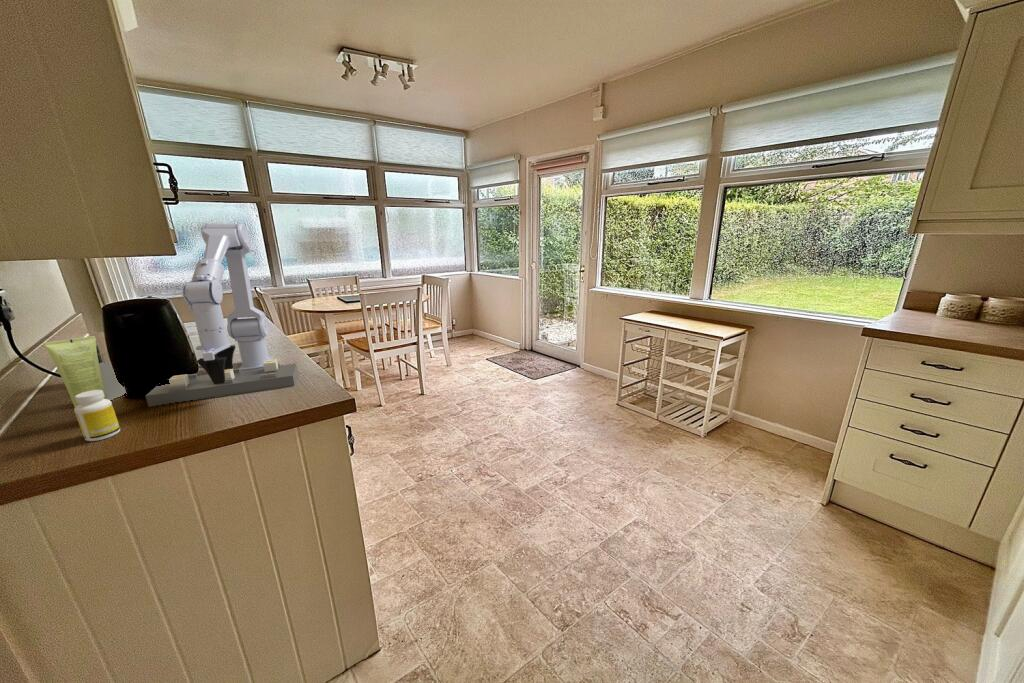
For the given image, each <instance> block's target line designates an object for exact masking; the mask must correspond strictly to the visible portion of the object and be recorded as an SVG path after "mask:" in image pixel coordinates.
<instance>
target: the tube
mask: <svg viewBox="0 0 1024 683" xmlns="http://www.w3.org/2000/svg"><path fill="white" fill-rule="evenodd" d="M43 345H44V348H45V349H46V351H47V352H48V354H49V356H50V357H51V359H52V361H53V363H54V365H55V367H56V369H57V370H58V374H60V377H61V379H62V381H63V383H64V386H65V388H66V390H67V392H68V394H69V397H70V399H71V402H72V405H73V407H74V408H75V407H76V406H78V405H79V403H77V402H76V399H75V396H76V395H78V394H80V393H83V392H87V391H92V390H102V391H103V393H104V399H107V397H106V393H105V389H104V385H103V381H102V376H101V372H100V367H99V361H98V356H97V349H96V345H97V340H96V336H95V335H92V336H91V335H90V336H86V337H83V336H82V337H78V338H77V337H76V338H71V339H70V338H69V339H63V340H62V339H61V340H55V341H47V342H43Z"/></svg>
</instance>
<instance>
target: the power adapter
mask: <svg viewBox="0 0 1024 683" xmlns="http://www.w3.org/2000/svg"><path fill="white" fill-rule="evenodd" d="M100 354H101V357H102V360H103V362H102V363H99V367H100V372H101V376H102V381H103V385H104V389H105V393H106V397H107V399H108V400H113V399H114V398H117V397H120V396H122V395H124V394H125V393H126V394H127V391H126V388H125V386H124V387H123V386H122V385H121V384H120V383H119V382H118V380H117V378H116V375H115V372H114V368H113V365H112V363H111V361H109V360H108V361H106V360H105V357H104V354H103V353H100ZM113 401H114V400H113Z"/></svg>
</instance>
